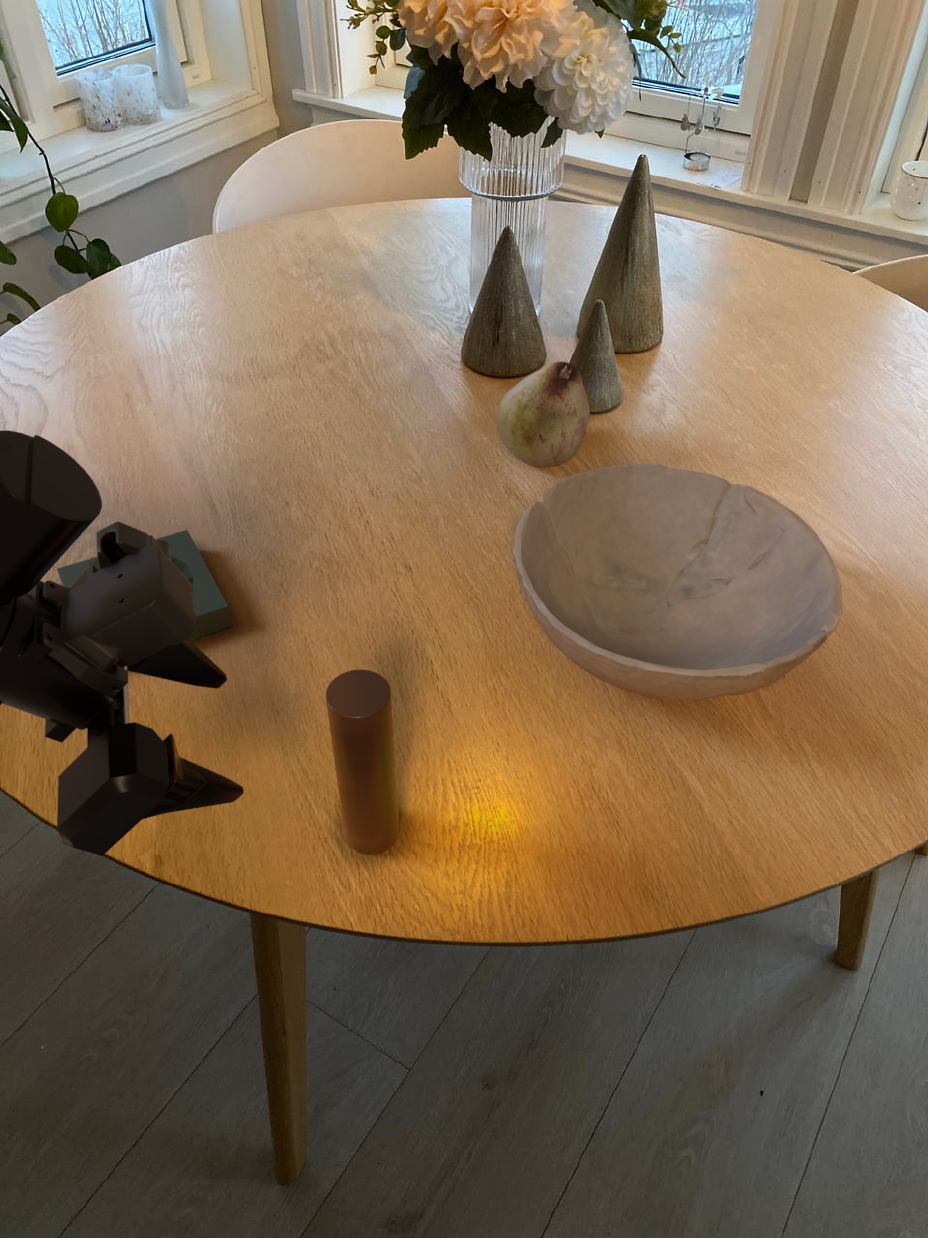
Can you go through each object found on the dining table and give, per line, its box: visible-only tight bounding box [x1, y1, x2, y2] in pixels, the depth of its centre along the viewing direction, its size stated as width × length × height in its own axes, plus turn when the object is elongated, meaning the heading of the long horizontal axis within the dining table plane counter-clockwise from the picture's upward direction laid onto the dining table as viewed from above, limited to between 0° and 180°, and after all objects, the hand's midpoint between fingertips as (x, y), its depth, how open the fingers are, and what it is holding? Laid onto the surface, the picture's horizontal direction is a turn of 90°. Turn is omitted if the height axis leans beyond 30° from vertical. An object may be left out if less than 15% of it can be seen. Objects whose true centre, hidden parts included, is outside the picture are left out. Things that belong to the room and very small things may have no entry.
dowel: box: [325, 668, 401, 855], centre depth 64 cm, size 4×4×15 cm
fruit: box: [496, 361, 591, 468], centre depth 100 cm, size 10×9×12 cm
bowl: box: [512, 463, 843, 701], centre depth 80 cm, size 26×26×10 cm
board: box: [56, 529, 234, 642], centre depth 85 cm, size 12×12×2 cm
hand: (230, 735), depth 59 cm, fingers open, 9 cm apart
